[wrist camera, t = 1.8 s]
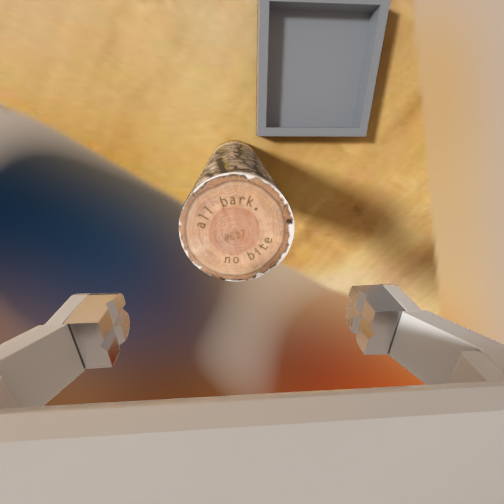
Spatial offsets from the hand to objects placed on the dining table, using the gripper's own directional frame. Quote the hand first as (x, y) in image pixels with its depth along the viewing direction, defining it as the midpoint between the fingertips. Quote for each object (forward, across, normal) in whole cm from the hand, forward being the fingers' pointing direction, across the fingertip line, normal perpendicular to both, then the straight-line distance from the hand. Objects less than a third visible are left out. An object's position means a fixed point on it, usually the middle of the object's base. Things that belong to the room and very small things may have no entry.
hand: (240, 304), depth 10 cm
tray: (+32, -10, -11) cm, 35 cm away
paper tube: (+32, 0, 0) cm, 32 cm away
